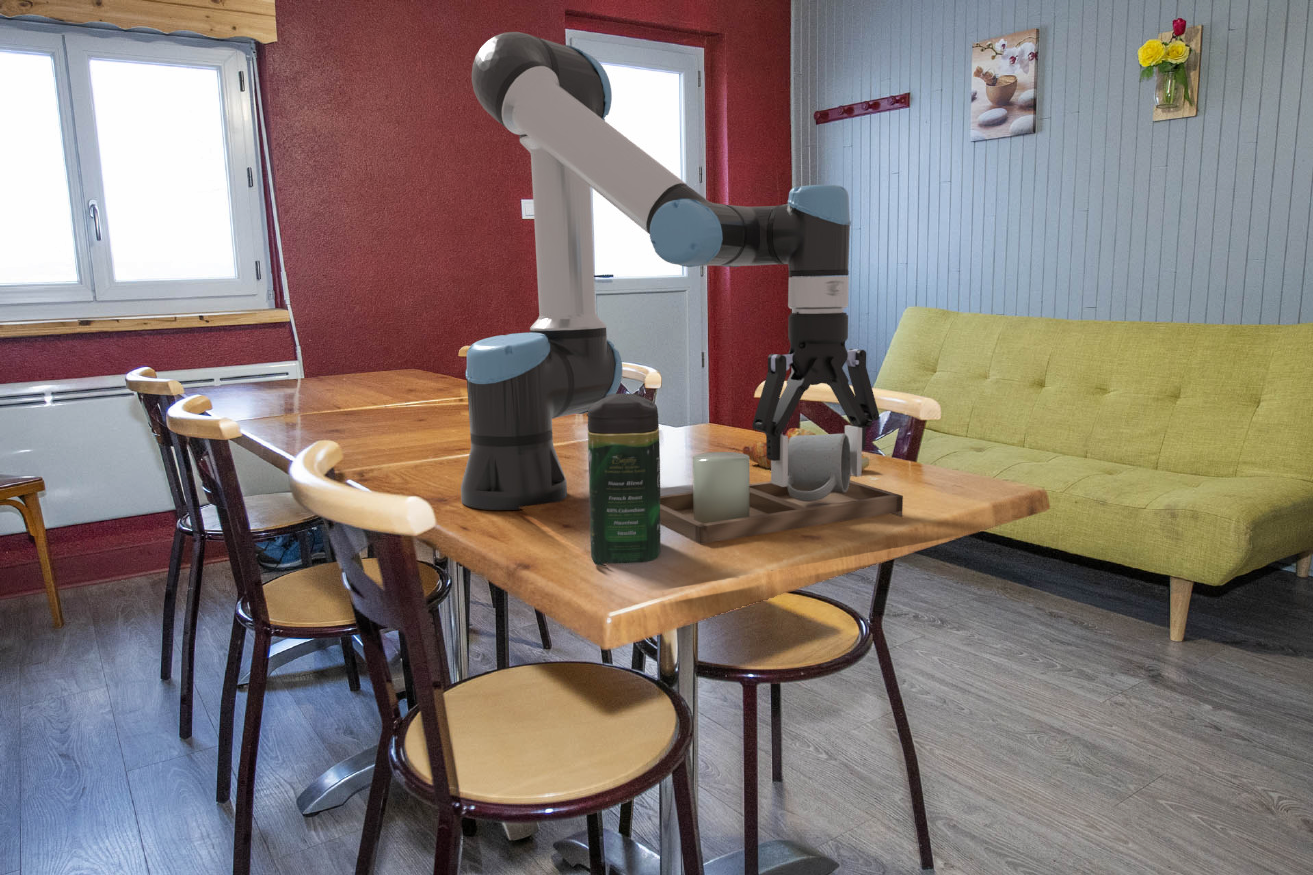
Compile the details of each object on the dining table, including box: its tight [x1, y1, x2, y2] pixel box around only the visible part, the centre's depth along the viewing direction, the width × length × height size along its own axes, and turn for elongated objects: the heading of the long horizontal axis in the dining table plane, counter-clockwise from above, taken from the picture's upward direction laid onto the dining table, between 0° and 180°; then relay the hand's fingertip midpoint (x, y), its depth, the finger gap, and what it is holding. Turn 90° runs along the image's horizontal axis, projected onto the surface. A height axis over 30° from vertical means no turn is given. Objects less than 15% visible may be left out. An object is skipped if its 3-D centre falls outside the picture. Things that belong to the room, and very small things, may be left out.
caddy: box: [660, 479, 904, 545], centre depth 120 cm, size 30×16×3 cm, turn 116°
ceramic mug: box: [787, 432, 852, 501], centre depth 121 cm, size 11×8×8 cm
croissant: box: [742, 427, 870, 471], centre depth 152 cm, size 21×10×8 cm, turn 67°
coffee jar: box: [586, 393, 662, 567], centre depth 103 cm, size 10×8×19 cm
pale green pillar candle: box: [692, 451, 751, 524], centre depth 116 cm, size 7×7×8 cm
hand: (816, 479), depth 122 cm, fingers closed on ceramic mug, 11 cm apart
